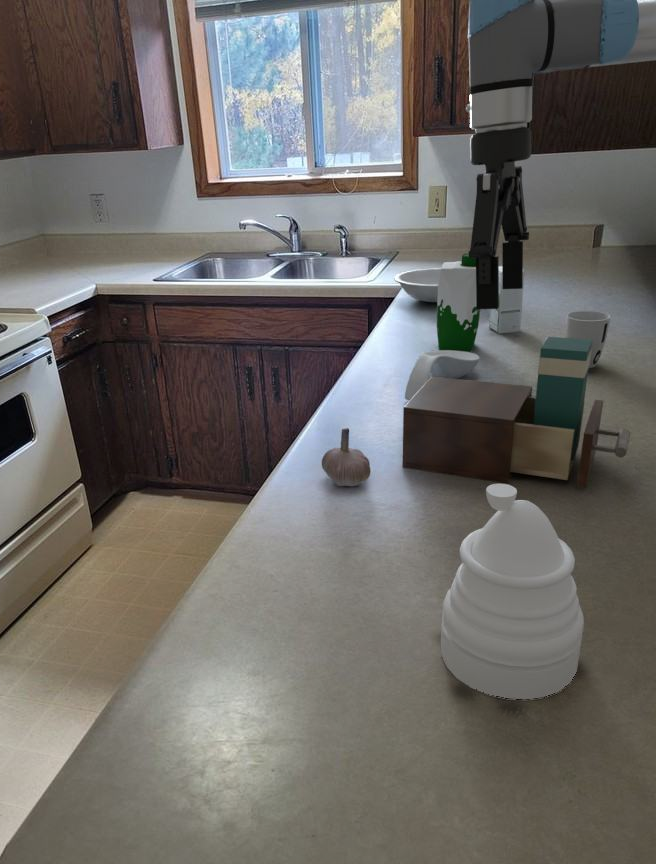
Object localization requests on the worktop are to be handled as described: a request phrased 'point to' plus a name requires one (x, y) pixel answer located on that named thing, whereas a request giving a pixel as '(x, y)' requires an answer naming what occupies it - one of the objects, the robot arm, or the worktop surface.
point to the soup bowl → (420, 283)
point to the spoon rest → (439, 368)
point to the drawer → (559, 445)
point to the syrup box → (507, 309)
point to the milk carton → (457, 305)
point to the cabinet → (462, 427)
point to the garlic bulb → (346, 463)
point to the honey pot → (513, 605)
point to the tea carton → (562, 384)
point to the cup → (589, 330)
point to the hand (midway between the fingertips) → (500, 298)
